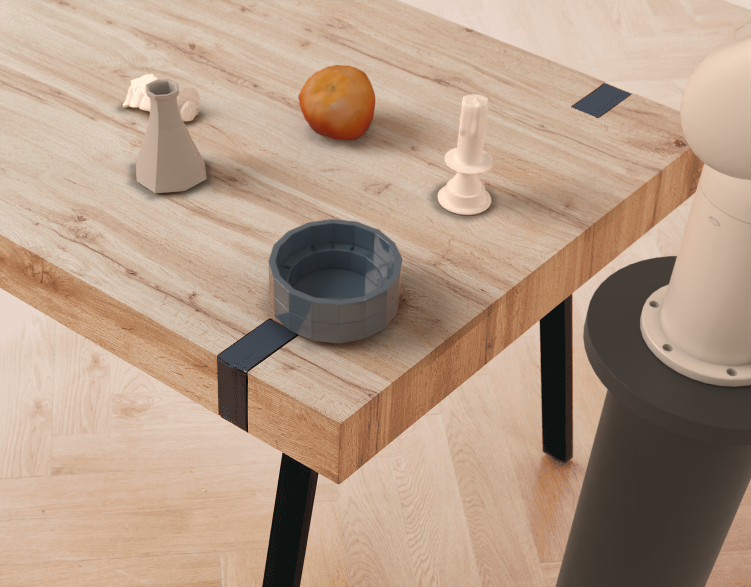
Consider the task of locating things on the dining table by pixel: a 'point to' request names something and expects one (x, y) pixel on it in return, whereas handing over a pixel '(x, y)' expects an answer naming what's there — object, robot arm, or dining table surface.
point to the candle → (468, 161)
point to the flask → (167, 144)
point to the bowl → (335, 280)
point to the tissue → (139, 98)
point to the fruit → (338, 102)
